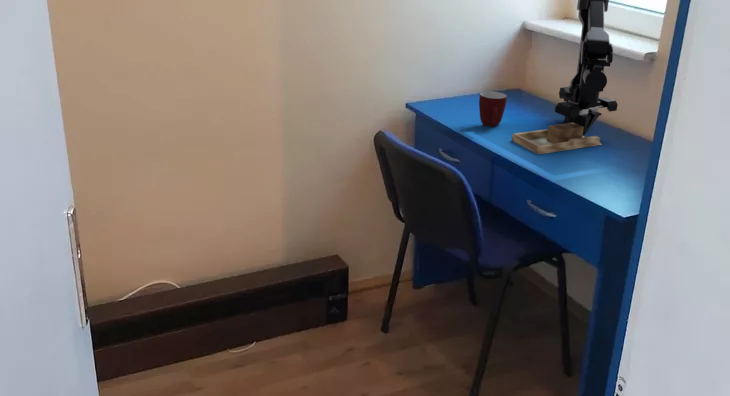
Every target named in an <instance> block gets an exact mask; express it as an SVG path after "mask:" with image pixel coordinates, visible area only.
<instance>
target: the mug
mask: <svg viewBox="0 0 730 396" xmlns="http://www.w3.org/2000/svg"><path fill="white" fill-rule="evenodd" d="M507 101H508V96H507V94H506V93H503V92H497V91H489V90H488V91H482V92H480V93H479V99H478V108H479V119H480V122H481V124H482V127H498V126H499V125H500V123H501V121H502V119H503V116H504V113H505V109H506V106H507Z"/></svg>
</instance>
